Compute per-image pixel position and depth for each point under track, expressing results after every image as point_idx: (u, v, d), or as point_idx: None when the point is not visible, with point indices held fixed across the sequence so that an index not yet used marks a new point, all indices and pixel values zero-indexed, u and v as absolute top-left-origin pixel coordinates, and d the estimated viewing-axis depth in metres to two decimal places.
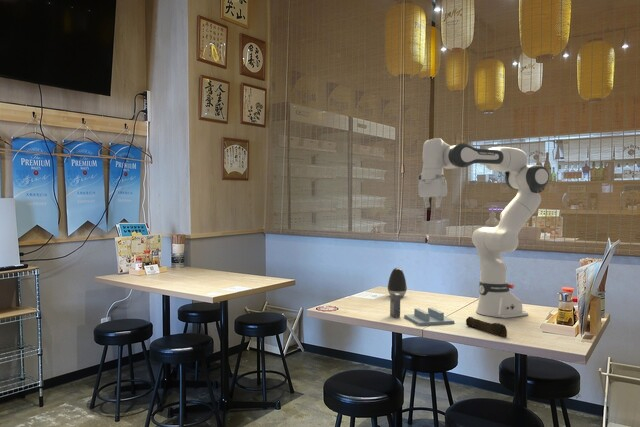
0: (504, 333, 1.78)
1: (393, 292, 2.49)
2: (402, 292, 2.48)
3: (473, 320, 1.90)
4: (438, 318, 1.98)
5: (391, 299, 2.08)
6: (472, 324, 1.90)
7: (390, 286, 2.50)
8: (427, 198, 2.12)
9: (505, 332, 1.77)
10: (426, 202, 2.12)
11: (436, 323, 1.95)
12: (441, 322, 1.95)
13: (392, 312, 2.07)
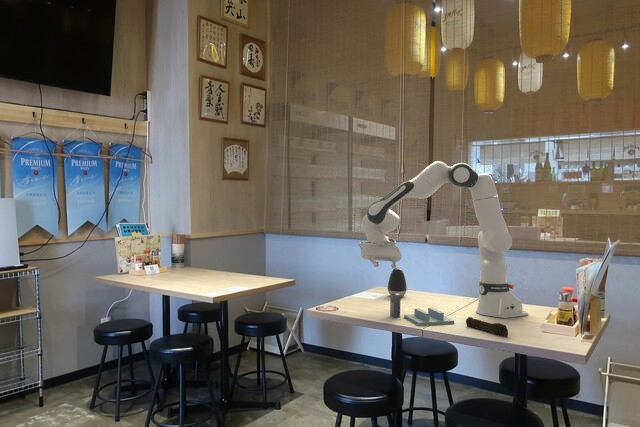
0: (505, 333, 1.78)
1: (393, 292, 2.49)
2: (402, 292, 2.48)
3: (473, 320, 1.90)
4: (438, 318, 1.98)
5: (391, 299, 2.08)
6: (472, 324, 1.90)
7: (390, 286, 2.50)
8: (392, 260, 2.21)
9: (506, 332, 1.78)
10: (393, 263, 2.21)
11: (436, 323, 1.95)
12: (441, 322, 1.95)
13: (392, 312, 2.07)
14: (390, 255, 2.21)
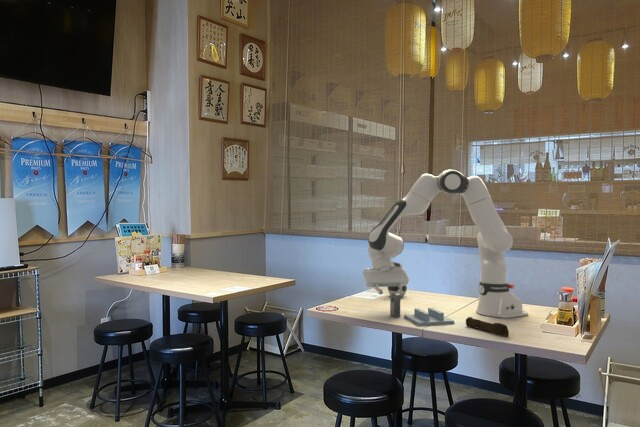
0: (506, 332, 1.78)
1: (393, 292, 2.49)
2: (402, 292, 2.48)
3: (473, 320, 1.90)
4: (438, 318, 1.98)
5: (391, 299, 2.08)
6: (472, 324, 1.90)
7: (390, 286, 2.50)
8: (399, 285, 2.17)
9: (507, 332, 1.78)
10: (399, 289, 2.16)
11: (436, 323, 1.95)
12: (441, 322, 1.95)
13: (392, 312, 2.07)
14: (395, 280, 2.16)
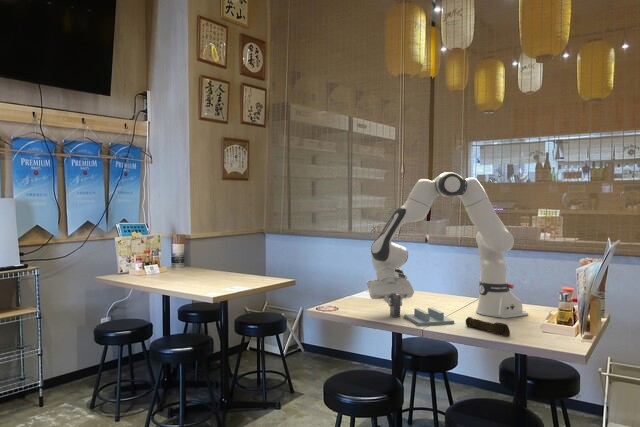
0: (507, 332, 1.78)
1: None
2: None
3: (473, 320, 1.90)
4: (438, 318, 1.98)
5: (391, 299, 2.08)
6: (472, 324, 1.90)
7: None
8: None
9: (508, 331, 1.78)
10: None
11: (436, 323, 1.95)
12: (441, 322, 1.95)
13: (392, 312, 2.07)
14: (400, 292, 2.11)
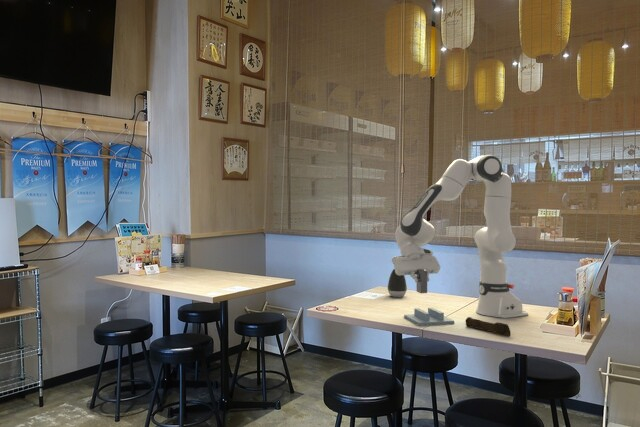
0: (508, 332, 1.79)
1: (393, 292, 2.49)
2: (402, 292, 2.48)
3: (473, 320, 1.90)
4: (438, 318, 1.98)
5: (417, 275, 2.03)
6: (472, 324, 1.90)
7: (390, 286, 2.50)
8: None
9: (509, 331, 1.78)
10: None
11: (436, 323, 1.95)
12: (441, 322, 1.95)
13: (419, 288, 2.02)
14: (427, 268, 2.06)
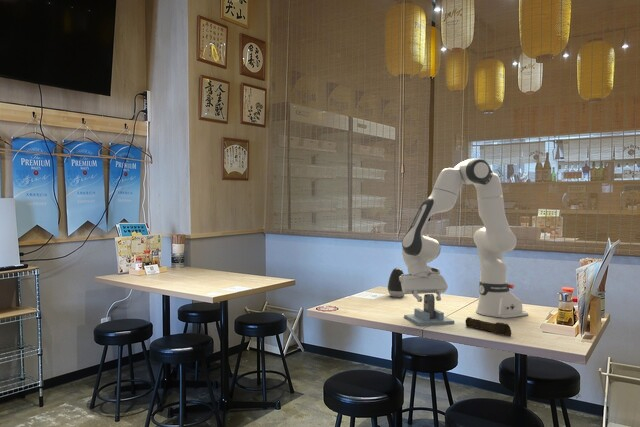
0: (508, 332, 1.79)
1: (393, 292, 2.49)
2: (402, 292, 2.48)
3: (473, 320, 1.90)
4: (438, 318, 1.98)
5: (425, 300, 2.02)
6: (472, 324, 1.90)
7: (390, 286, 2.50)
8: (437, 292, 2.04)
9: (509, 331, 1.79)
10: (437, 296, 2.04)
11: (436, 323, 1.95)
12: (441, 322, 1.95)
13: None
14: (434, 287, 2.04)
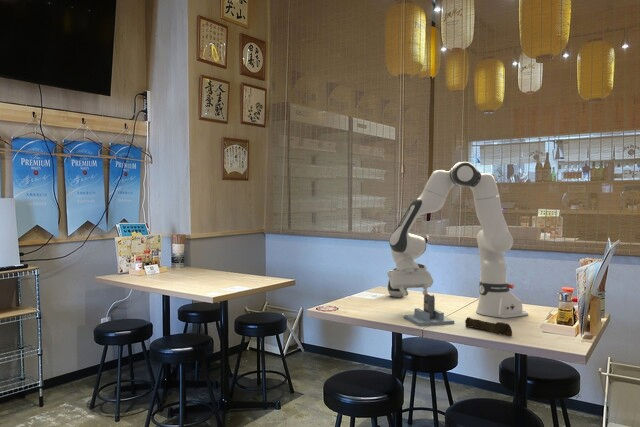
0: (509, 332, 1.79)
1: (393, 292, 2.49)
2: None
3: (473, 320, 1.90)
4: (438, 318, 1.98)
5: (425, 300, 2.02)
6: (472, 324, 1.90)
7: (390, 286, 2.50)
8: (423, 286, 2.17)
9: (510, 331, 1.79)
10: None
11: (436, 323, 1.95)
12: (441, 322, 1.95)
13: None
14: (420, 282, 2.16)
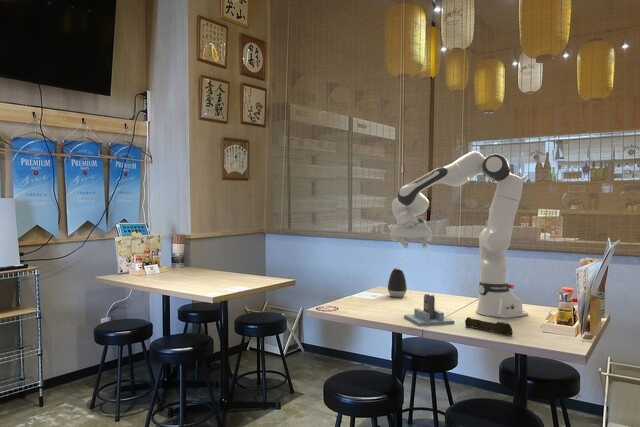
0: (510, 331, 1.79)
1: (393, 292, 2.49)
2: (402, 292, 2.48)
3: (473, 320, 1.90)
4: (438, 318, 1.98)
5: (425, 300, 2.02)
6: (472, 324, 1.90)
7: (390, 286, 2.50)
8: (423, 240, 2.24)
9: (511, 331, 1.79)
10: None
11: (436, 323, 1.95)
12: (441, 322, 1.95)
13: None
14: (420, 235, 2.23)
